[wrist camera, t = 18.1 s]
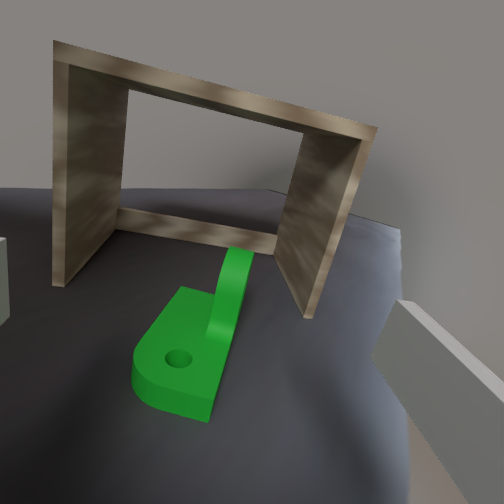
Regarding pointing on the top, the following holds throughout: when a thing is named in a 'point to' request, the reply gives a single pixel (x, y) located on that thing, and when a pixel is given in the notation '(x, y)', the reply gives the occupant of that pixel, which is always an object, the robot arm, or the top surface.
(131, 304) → the top surface
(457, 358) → the robot arm
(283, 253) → the cubby box
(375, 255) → the top surface
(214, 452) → the top surface
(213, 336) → the mechanical part
